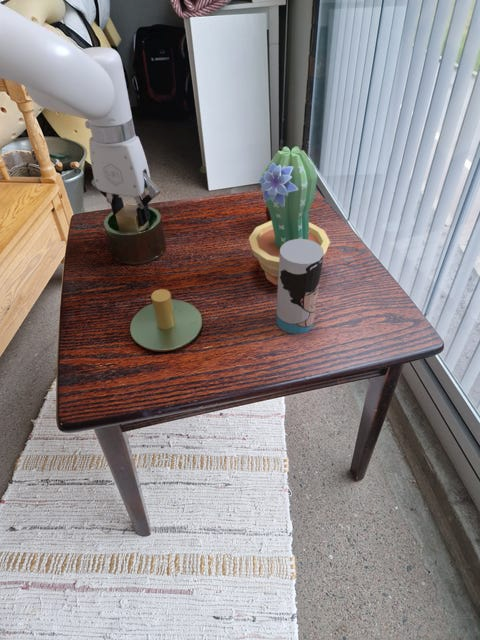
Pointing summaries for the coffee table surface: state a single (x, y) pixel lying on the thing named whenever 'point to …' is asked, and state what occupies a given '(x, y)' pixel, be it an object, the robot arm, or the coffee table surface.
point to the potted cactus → (286, 208)
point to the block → (129, 219)
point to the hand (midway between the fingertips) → (132, 219)
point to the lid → (165, 323)
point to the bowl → (136, 240)
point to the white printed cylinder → (298, 285)
